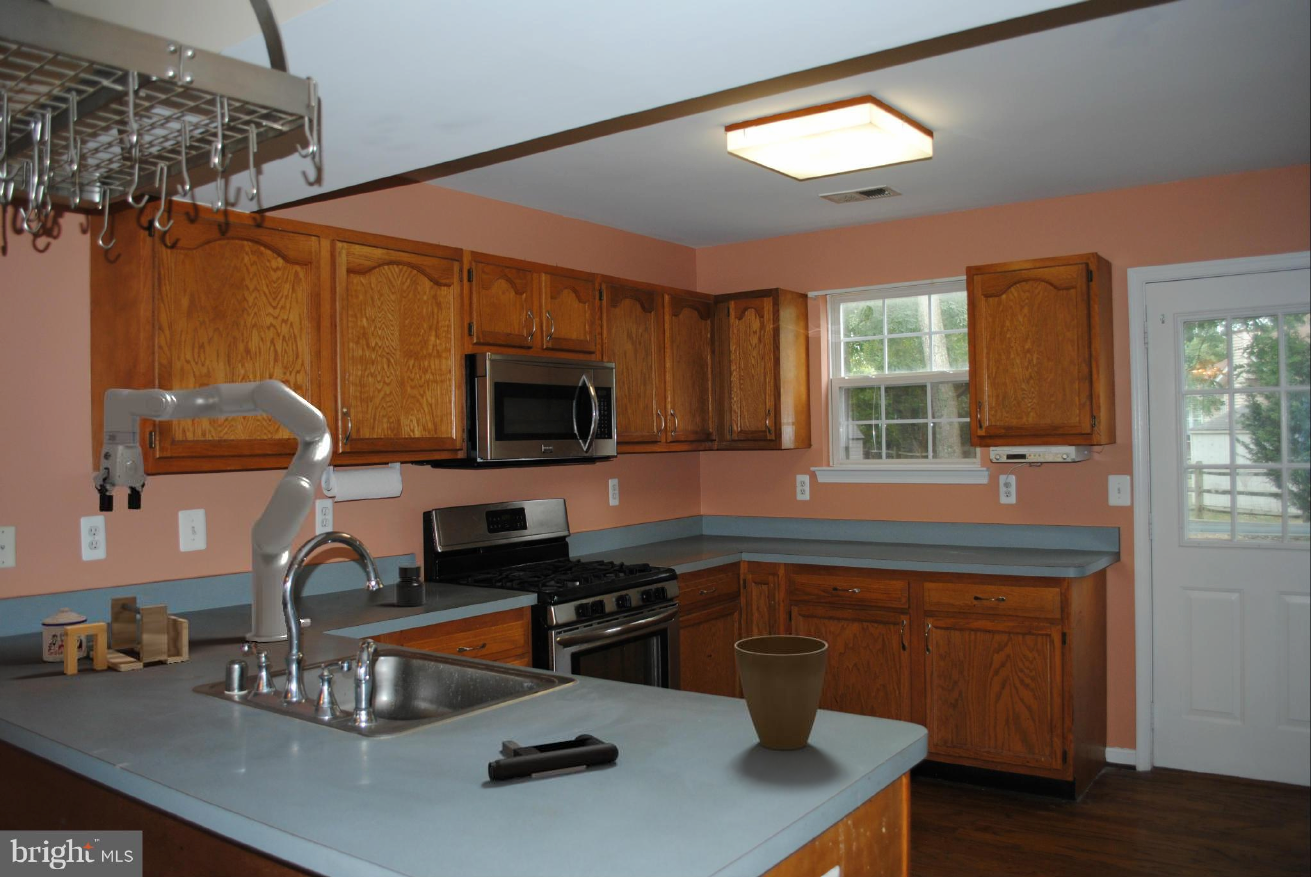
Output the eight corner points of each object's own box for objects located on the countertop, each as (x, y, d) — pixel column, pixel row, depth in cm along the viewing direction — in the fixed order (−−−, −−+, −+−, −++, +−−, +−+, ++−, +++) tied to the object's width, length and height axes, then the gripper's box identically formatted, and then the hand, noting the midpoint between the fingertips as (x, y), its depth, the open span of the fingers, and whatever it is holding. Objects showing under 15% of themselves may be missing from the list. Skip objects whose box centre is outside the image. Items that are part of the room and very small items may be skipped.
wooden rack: (89, 657, 224) (89, 600, 224) (153, 647, 234) (153, 593, 234) (121, 671, 209) (121, 610, 209) (188, 660, 219) (188, 603, 219)
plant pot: (777, 724, 164) (776, 631, 164) (848, 744, 153) (847, 643, 153) (716, 742, 154) (715, 643, 154) (786, 765, 143) (785, 658, 143)
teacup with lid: (43, 664, 217) (43, 612, 217) (40, 657, 224) (39, 607, 224) (104, 656, 224) (103, 606, 224) (99, 650, 231) (98, 602, 231)
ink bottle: (427, 602, 301) (426, 564, 301) (425, 606, 292) (424, 567, 292) (395, 603, 299) (394, 564, 299) (392, 607, 291) (392, 568, 291)
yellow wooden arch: (102, 666, 214) (102, 622, 214) (106, 668, 212) (106, 623, 212) (63, 672, 208) (63, 627, 208) (67, 674, 206) (67, 628, 206)
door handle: (465, 741, 149) (494, 765, 135) (584, 724, 158) (624, 745, 144) (465, 763, 149) (495, 789, 135) (585, 745, 158) (625, 767, 143)
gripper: (110, 439, 223) (109, 512, 223) (159, 440, 240) (158, 508, 240) (81, 439, 224) (80, 512, 224) (132, 440, 241) (131, 508, 241)
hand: (120, 510), depth 232 cm, fingers open, 9 cm apart
